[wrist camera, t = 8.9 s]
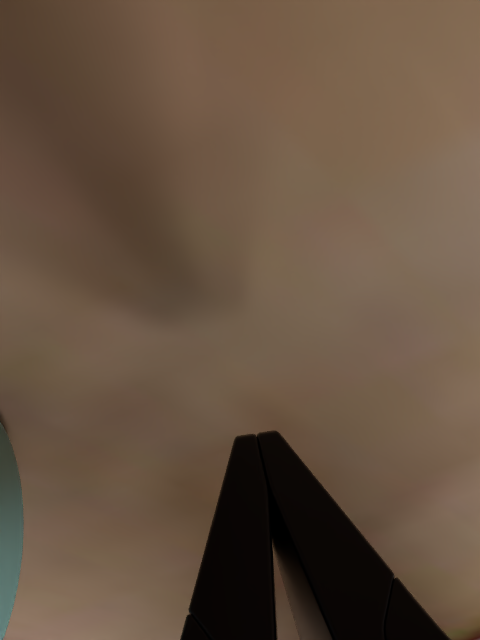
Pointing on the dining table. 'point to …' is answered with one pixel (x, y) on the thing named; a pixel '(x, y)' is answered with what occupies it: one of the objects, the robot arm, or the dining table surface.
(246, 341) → the dining table surface
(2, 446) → the knob
